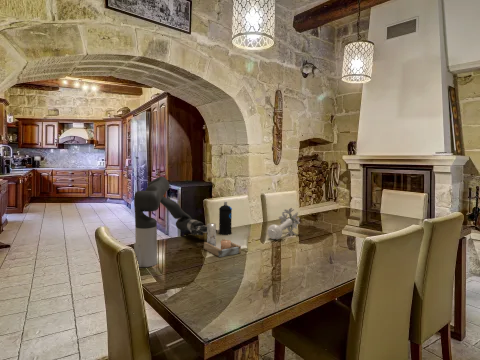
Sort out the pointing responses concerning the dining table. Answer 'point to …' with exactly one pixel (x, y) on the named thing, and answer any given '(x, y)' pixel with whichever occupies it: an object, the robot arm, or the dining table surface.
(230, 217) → the aerosol can
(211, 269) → the dining table surface
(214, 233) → the shaft
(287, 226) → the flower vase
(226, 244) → the cylinder
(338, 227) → the dining table surface
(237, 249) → the channel
